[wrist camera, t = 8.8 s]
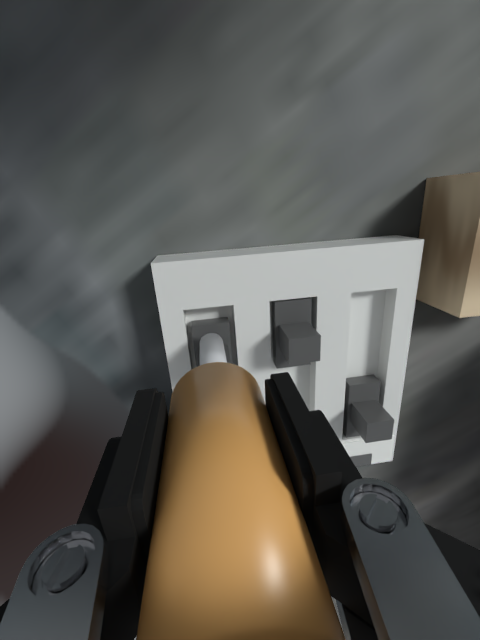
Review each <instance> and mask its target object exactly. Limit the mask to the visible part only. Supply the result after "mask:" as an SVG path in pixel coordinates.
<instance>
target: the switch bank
mask: <svg viewBox="0 0 480 640" xmlns="http://www.w3.org/2000/svg"><path fill="white" fill-rule="evenodd" d="M423 246H424V239H419V238H412V237H405V236H399V235H391V236H379V237H367V238H356V239H344V240H332V241H321V242H309V243H298V244H286V245H274V246H263V247H251V248H239V249H228V250H216V251H204V252H193V253H181V254H169V255H158V256H156V258H155V259H154V260H153V261H152V262H151V269H152V274H153V280H154V286H155V292H156V298H157V304H158V309H159V315H160V321H161V327H162V333H163V339H164V344H165V350H166V356H167V362H168V368H169V374H170V379H171V385H172V391H173V390H174V388H175V386H176V384H177V383H178V381H179V380H180V379H181V378H182V377H183V376H184V375H185V374H186V373H187V372H189V371H190V370H192V369H193V368H195V367H197V366H196V359H195V351H194V344H193V336H192V329H191V321H194V320H204V319H213V318H222V317H228V320H229V327H230V338H231V350H232V362H233V364H235V365H237V366H240V367H242V368H244V369H245V370H247V371H248V372H249V373H250V374H251V375H252V376H253V377H254V378H255V379H256V381H257V383H258V385H259V387H260V390H261V393H262V396H263V399H264V401H265V379H270V375H271V374H276V373H284V372H288V373H289V374H290V376H291V378H292V380H293V382H294V384H295V385H296V387H297V389H298V391H299V393H300V395H301V396H302V398H303V400H304V402H305V404H306V406H307V408H308V409H309V411H314V410H321V411H322V412H323V414H324V415H325V417H326V418H327V420H328V422H329V423H330V425H331V427H332V428H333V430H334V432H335V433H336V435H337V437H338V438H339V440H340V442H341V443H342V445H343V447H344V448H345V450H346V452H347V453H348V455H349V457H350V458H351V460H352V462H353V463H354V465H355V467H358V466H364V465H371V464H376V463H383V462H389V461H393V455H394V448H395V441H396V434H397V427H398V420H399V413H400V406H401V399H402V392H403V385H404V378H405V371H406V364H407V357H408V350H409V343H410V336H411V330H412V323H413V316H414V309H415V302H416V295H417V288H418V281H419V274H420V267H421V260H422V253H423ZM306 297H310V298H312V307H311V326H312V327H313V328H314V329H315V330H316V331H317V332H318V333H319V334H320V335H321V350H320V361H315V362H311V364H310V365H302V366H294V367H286V368H278V369H277V368H276V366H275V364H274V362H273V332H272V301H277V300H287V299H297V298H306ZM373 374H374V375H375V376H376V377H377V378H378V379H379V380H380V381H381V386H380V394H379V403H380V405H381V406H382V407H383V408H384V409H385V410H386V411H387V412H388V413H389V414H390V416H391V417H392V418H393V419H394V426H393V433H392V439H390V440H383V441H377V442H370V443H365V441H364V440H363V439H362V437H361V436H355V437H348V438H346V437H345V435H344V434H343V417H344V402H345V387H346V378H350V377H358V376H366V375H373ZM265 404H266V403H265Z"/></svg>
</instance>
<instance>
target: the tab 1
mask: <svg viewBox="0 0 480 640" xmlns="http://www.w3.org/2000/svg"><path fill="white" fill-rule="evenodd" d="M191 329H192V336H193V344H194V351H195V359H196V366H197V367H198V366H200V340H201V338H202V337H203V336H204V335H206V334H208V333H215V334H218V335H219V336H220V337H221V338H222V340H223V344H224V349H225V354H226V360H227V363H231V364H233V362H232V350H231V338H230V327H229V320H228V317H222V318H213V319H204V320H194V321H191Z"/></svg>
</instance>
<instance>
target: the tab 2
mask: <svg viewBox="0 0 480 640" xmlns="http://www.w3.org/2000/svg"><path fill="white" fill-rule="evenodd" d="M311 307H312V298H310V297H306V298H297V299H287V300H277V301H272V332H273V362H274V364H275V366H276V368H277V369H278V368H286V367H294V366H302V365H310V364H311V362H315V361H320V350H321V335H320V334H319V333H318V332H317V331H316V330H315V329H314V328H313V327H312V326H311Z"/></svg>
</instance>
